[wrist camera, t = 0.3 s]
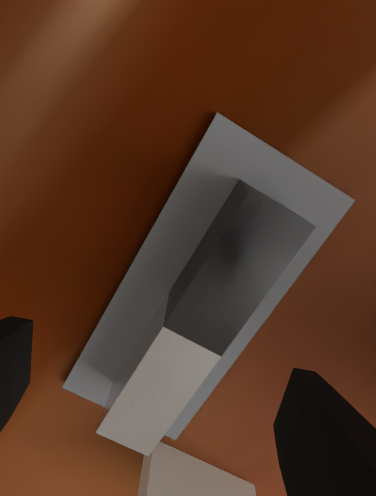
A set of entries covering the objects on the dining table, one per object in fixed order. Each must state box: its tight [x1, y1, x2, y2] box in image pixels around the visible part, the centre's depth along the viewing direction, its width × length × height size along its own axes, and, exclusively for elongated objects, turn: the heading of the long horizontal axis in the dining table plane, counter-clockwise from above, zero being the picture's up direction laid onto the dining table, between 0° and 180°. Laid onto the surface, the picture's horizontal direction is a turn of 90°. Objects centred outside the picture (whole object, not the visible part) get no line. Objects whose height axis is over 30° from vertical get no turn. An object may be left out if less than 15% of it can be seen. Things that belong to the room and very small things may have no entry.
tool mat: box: [62, 112, 355, 440], centre depth 18 cm, size 8×18×1 cm, turn 150°
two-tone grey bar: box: [95, 179, 316, 457], centre depth 16 cm, size 3×14×4 cm, turn 150°
